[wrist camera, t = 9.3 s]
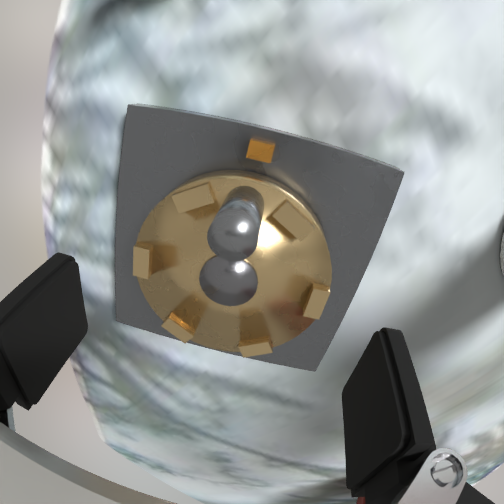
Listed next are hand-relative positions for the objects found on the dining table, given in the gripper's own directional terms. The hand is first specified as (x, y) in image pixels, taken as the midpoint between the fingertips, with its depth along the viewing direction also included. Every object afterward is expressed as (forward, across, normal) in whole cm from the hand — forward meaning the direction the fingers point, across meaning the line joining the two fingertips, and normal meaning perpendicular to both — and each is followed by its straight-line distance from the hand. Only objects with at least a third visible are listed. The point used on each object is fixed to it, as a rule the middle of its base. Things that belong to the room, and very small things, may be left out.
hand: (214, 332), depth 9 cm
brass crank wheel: (+14, +1, +6) cm, 15 cm away
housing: (+16, +1, +6) cm, 17 cm away
